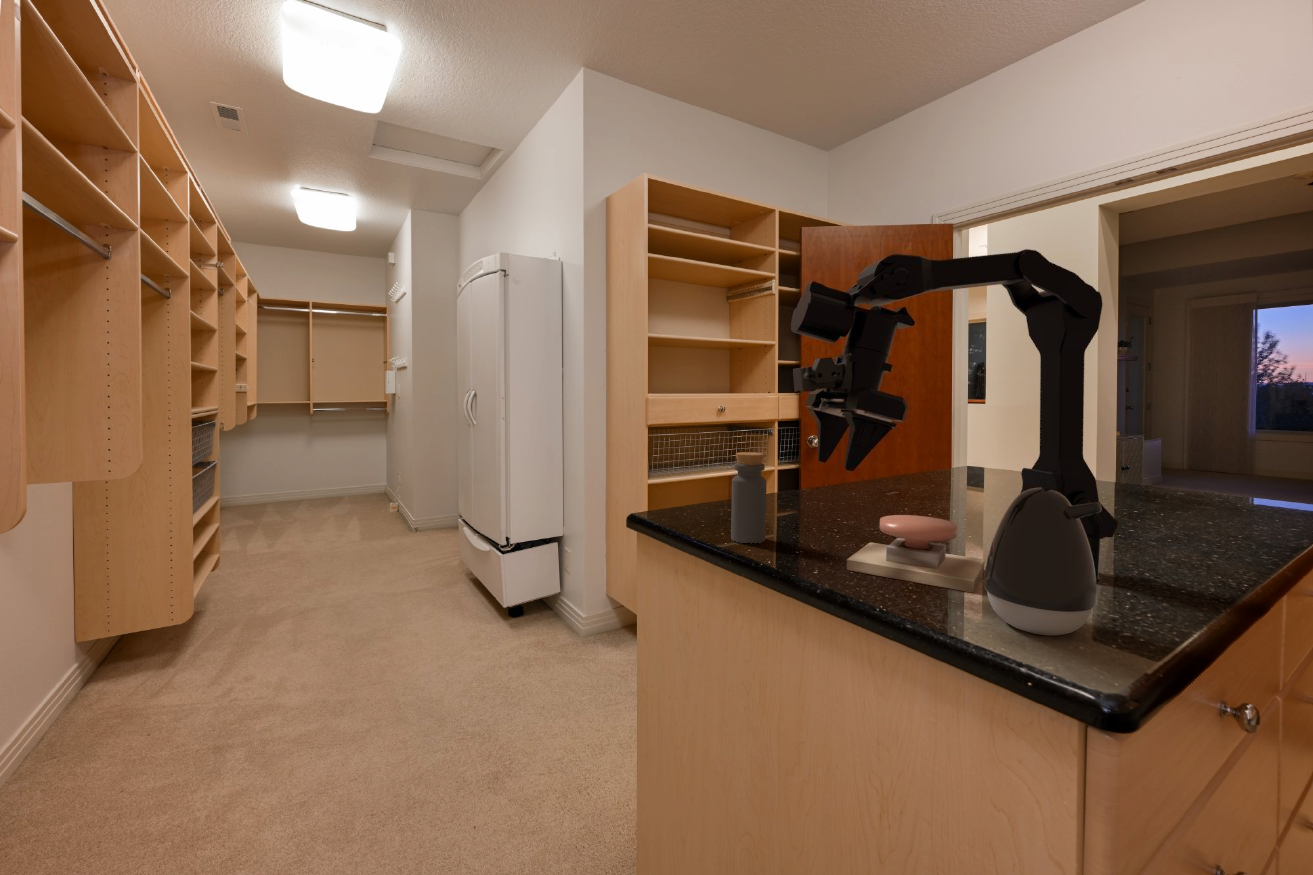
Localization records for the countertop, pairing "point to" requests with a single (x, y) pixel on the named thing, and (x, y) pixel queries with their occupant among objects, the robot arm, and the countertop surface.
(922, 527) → the button
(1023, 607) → the pump dispenser
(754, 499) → the bottle
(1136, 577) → the countertop surface
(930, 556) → the button base
